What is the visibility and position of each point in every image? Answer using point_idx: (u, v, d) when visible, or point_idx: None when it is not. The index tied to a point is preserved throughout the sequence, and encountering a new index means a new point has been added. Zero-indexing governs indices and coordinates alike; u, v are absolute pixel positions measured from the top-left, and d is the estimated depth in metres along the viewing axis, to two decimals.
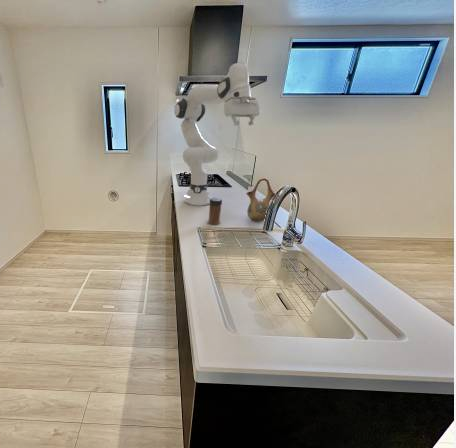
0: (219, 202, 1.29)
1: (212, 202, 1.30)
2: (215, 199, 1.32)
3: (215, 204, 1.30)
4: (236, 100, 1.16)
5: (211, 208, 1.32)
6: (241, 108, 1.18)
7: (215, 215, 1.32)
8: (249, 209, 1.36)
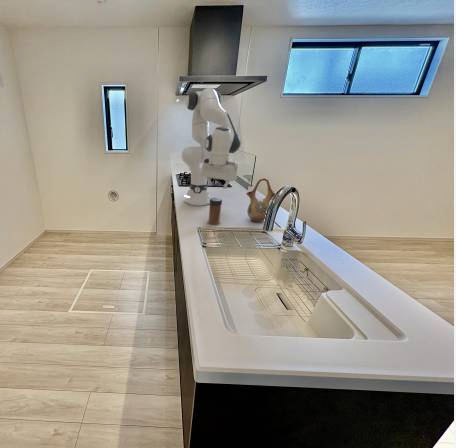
0: (219, 202, 1.29)
1: (212, 202, 1.30)
2: (215, 199, 1.32)
3: (215, 204, 1.30)
4: (207, 165, 1.27)
5: (211, 208, 1.32)
6: (213, 172, 1.27)
7: (215, 215, 1.32)
8: (249, 209, 1.36)
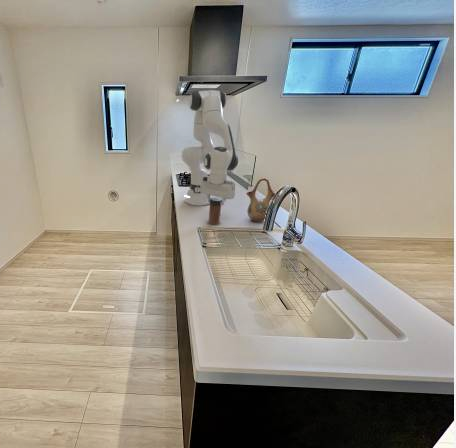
0: (219, 202, 1.29)
1: (212, 202, 1.30)
2: (215, 199, 1.32)
3: (215, 204, 1.30)
4: (206, 183, 1.31)
5: (211, 208, 1.32)
6: (211, 190, 1.30)
7: (215, 215, 1.32)
8: (249, 209, 1.36)
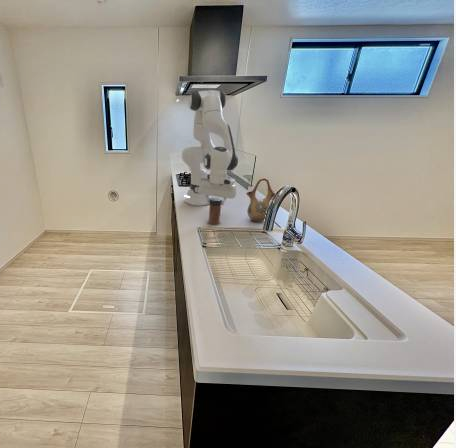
0: None
1: None
2: (216, 199, 1.32)
3: None
4: None
5: (211, 208, 1.32)
6: None
7: (215, 215, 1.32)
8: (249, 209, 1.36)
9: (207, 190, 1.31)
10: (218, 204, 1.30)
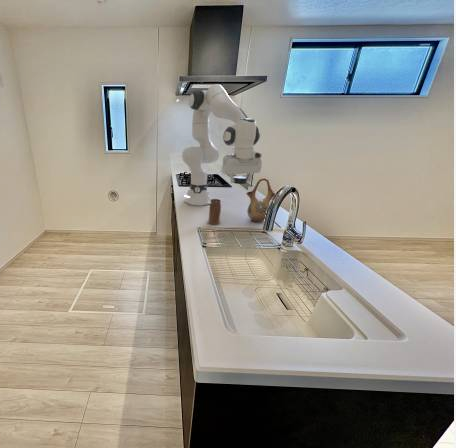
0: None
1: None
2: (239, 177, 1.21)
3: None
4: None
5: (211, 208, 1.32)
6: None
7: (215, 215, 1.32)
8: (249, 209, 1.36)
9: (234, 168, 1.16)
10: None
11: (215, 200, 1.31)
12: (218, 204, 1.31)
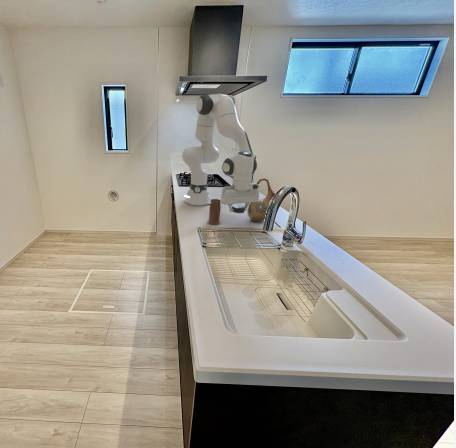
0: (232, 207, 1.26)
1: None
2: (238, 206, 1.26)
3: None
4: None
5: (211, 208, 1.32)
6: None
7: (215, 215, 1.32)
8: (249, 209, 1.36)
9: (233, 199, 1.21)
10: (244, 210, 1.25)
11: (215, 200, 1.31)
12: (218, 204, 1.31)
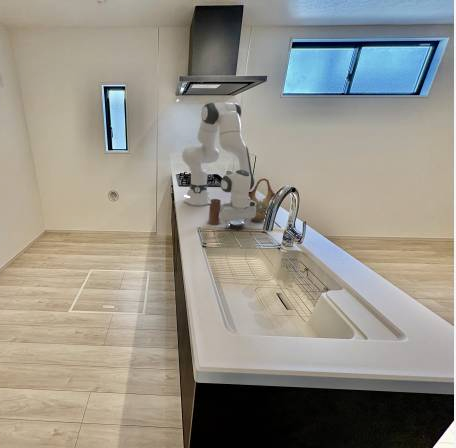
0: (230, 224, 1.30)
1: None
2: (236, 222, 1.30)
3: None
4: None
5: (211, 208, 1.32)
6: None
7: (215, 215, 1.32)
8: None
9: (231, 216, 1.25)
10: None
11: (215, 200, 1.31)
12: (218, 204, 1.31)
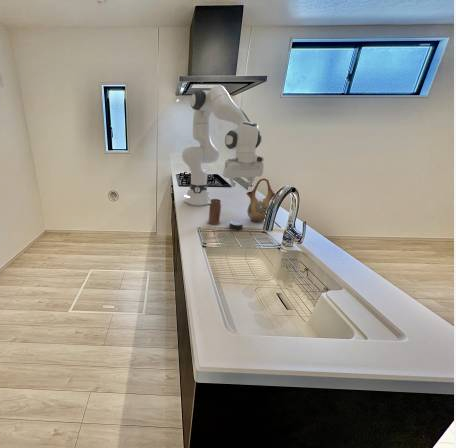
0: (230, 224, 1.30)
1: None
2: (236, 222, 1.30)
3: None
4: None
5: (211, 208, 1.32)
6: None
7: (215, 215, 1.32)
8: (249, 209, 1.36)
9: (236, 172, 1.16)
10: None
11: (215, 200, 1.31)
12: (218, 204, 1.31)
